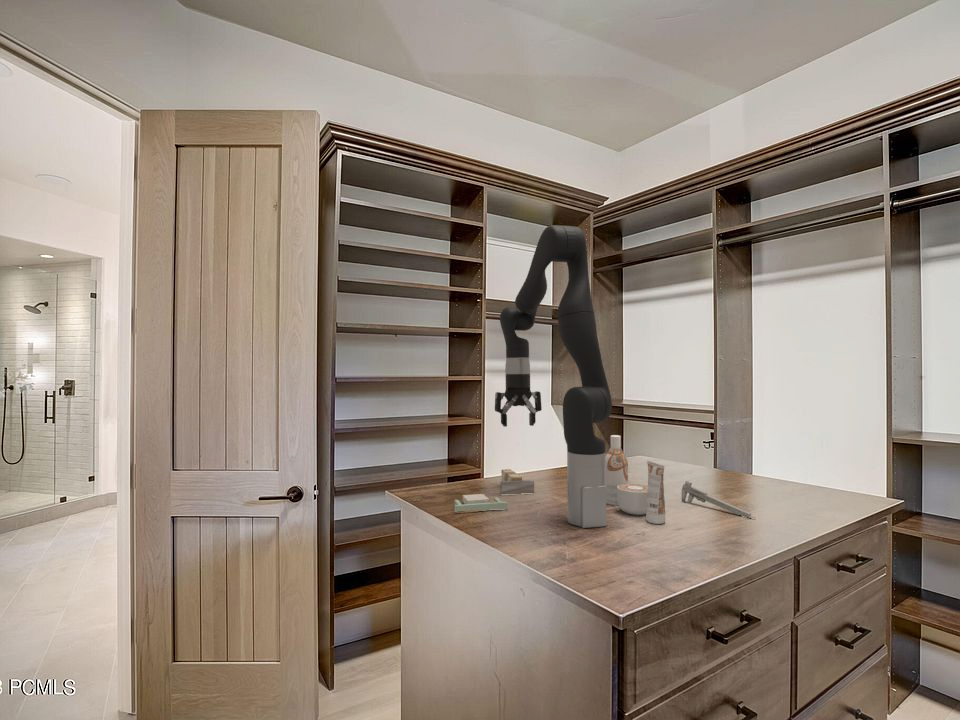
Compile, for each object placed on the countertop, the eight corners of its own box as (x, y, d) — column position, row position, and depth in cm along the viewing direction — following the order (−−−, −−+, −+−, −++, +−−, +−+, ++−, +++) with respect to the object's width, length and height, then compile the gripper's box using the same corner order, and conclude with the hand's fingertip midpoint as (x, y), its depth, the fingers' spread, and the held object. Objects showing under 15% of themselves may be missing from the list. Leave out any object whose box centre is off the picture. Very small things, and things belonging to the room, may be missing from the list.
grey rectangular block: (534, 494, 155) (534, 477, 155) (502, 496, 153) (502, 479, 153) (520, 484, 168) (520, 468, 168) (490, 486, 165) (490, 470, 165)
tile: (489, 508, 141) (489, 499, 141) (467, 510, 139) (467, 500, 139) (483, 502, 147) (483, 493, 147) (462, 504, 145) (462, 495, 145)
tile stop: (507, 510, 138) (507, 502, 138) (455, 513, 135) (455, 506, 135) (500, 504, 144) (500, 496, 144) (451, 507, 140) (451, 500, 140)
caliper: (681, 502, 146) (681, 480, 146) (683, 502, 147) (683, 479, 147) (753, 520, 129) (753, 495, 129) (756, 520, 130) (755, 495, 130)
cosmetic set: (680, 525, 125) (680, 447, 125) (647, 528, 123) (647, 448, 123) (624, 499, 149) (623, 433, 149) (595, 501, 147) (595, 434, 147)
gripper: (498, 373, 153) (499, 428, 153) (544, 372, 157) (544, 426, 156) (492, 373, 161) (492, 425, 160) (535, 372, 164) (536, 423, 164)
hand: (518, 425), depth 158 cm, fingers open, 8 cm apart
